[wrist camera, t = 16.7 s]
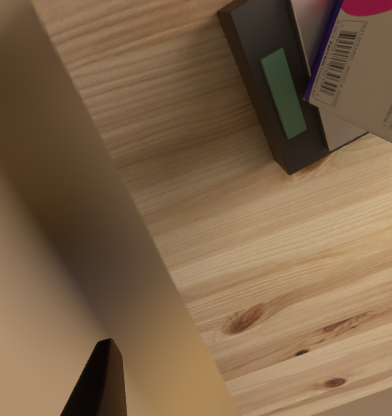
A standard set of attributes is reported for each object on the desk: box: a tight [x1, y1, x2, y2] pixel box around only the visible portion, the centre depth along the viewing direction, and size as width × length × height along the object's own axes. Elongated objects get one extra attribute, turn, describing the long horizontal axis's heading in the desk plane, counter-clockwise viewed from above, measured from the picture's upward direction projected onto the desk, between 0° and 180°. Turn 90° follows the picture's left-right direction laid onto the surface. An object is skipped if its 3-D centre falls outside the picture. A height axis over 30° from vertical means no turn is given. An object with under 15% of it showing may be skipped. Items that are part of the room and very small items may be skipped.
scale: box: [217, 0, 370, 175], centre depth 17 cm, size 12×10×3 cm
